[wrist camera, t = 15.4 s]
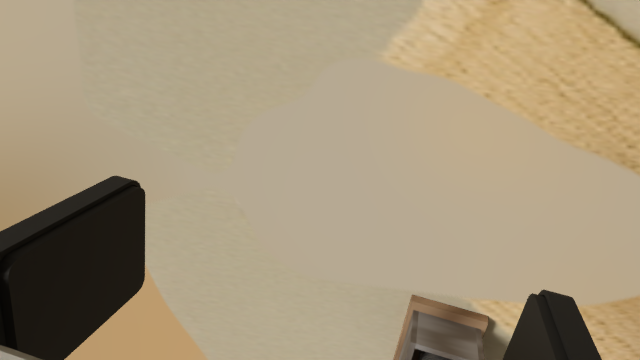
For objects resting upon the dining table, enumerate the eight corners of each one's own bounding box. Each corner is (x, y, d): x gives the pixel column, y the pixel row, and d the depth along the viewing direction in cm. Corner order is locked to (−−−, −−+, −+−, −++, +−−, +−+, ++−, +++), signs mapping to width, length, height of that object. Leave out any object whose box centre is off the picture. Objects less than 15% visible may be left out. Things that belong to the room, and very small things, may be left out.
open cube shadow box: (487, 316, 41) (493, 357, 36) (463, 380, 44) (465, 426, 39) (412, 294, 42) (408, 332, 37) (393, 358, 45) (387, 401, 40)
